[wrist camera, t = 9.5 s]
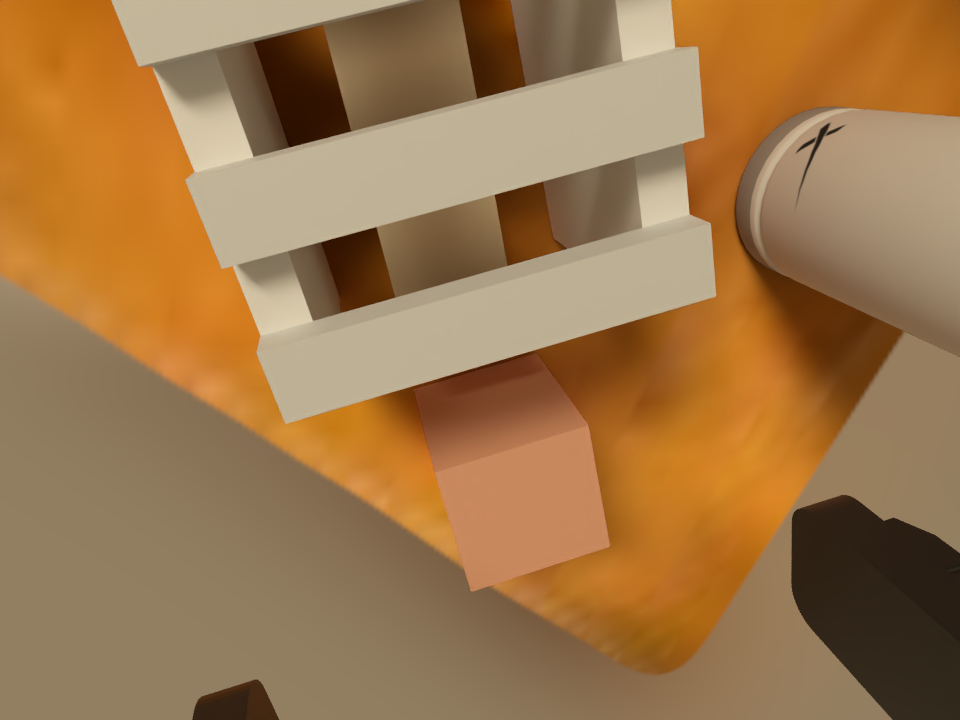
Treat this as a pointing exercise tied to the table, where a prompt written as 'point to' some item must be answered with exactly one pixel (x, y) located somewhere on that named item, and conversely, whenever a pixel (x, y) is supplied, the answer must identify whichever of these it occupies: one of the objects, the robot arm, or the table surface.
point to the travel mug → (863, 213)
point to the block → (513, 470)
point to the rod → (407, 92)
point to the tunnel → (439, 188)
